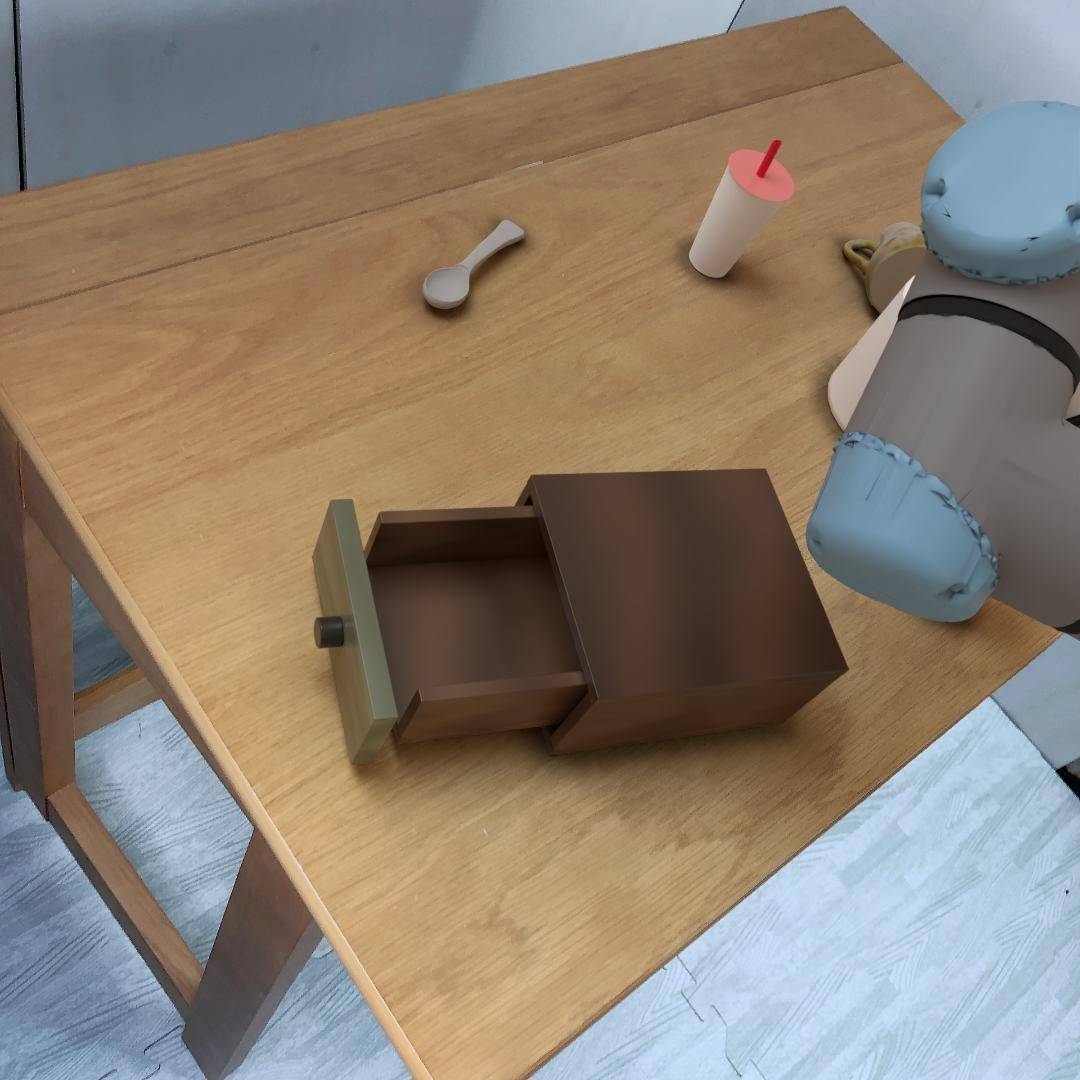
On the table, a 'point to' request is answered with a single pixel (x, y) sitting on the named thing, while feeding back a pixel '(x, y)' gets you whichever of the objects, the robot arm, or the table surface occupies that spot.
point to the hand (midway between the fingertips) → (1061, 524)
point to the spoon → (467, 268)
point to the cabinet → (681, 604)
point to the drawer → (442, 625)
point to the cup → (740, 209)
